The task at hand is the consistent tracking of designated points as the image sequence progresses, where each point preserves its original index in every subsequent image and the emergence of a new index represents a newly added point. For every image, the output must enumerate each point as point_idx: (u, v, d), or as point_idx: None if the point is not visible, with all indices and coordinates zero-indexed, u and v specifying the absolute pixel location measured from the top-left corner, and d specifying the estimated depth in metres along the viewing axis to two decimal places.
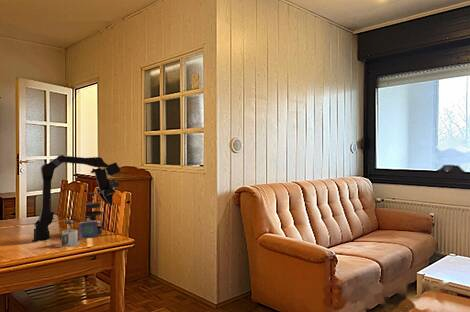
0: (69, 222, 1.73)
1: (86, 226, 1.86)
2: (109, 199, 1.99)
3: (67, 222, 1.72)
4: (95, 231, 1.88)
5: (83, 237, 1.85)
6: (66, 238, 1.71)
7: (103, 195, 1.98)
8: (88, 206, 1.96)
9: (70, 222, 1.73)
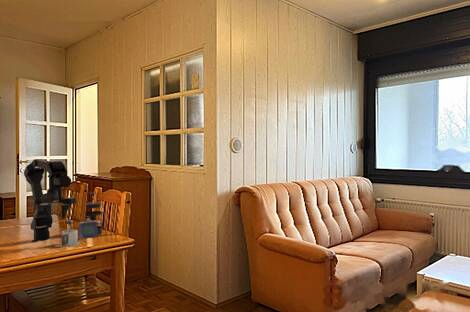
0: (69, 222, 1.73)
1: (86, 226, 1.86)
2: None
3: (67, 222, 1.72)
4: (95, 231, 1.88)
5: (83, 237, 1.85)
6: (66, 238, 1.71)
7: (50, 203, 1.78)
8: (88, 206, 1.96)
9: (70, 222, 1.73)
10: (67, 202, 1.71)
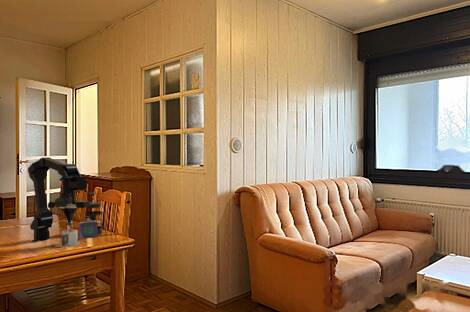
0: (69, 223, 1.73)
1: (86, 226, 1.86)
2: None
3: (67, 223, 1.72)
4: (95, 231, 1.88)
5: (83, 237, 1.85)
6: (66, 238, 1.71)
7: None
8: None
9: (70, 223, 1.73)
10: (80, 205, 1.70)
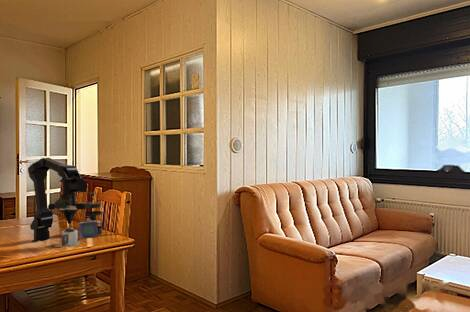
0: (69, 229, 1.73)
1: (86, 226, 1.86)
2: None
3: (67, 229, 1.72)
4: (95, 231, 1.88)
5: (83, 237, 1.85)
6: (66, 238, 1.71)
7: None
8: None
9: (70, 229, 1.73)
10: (81, 207, 1.70)
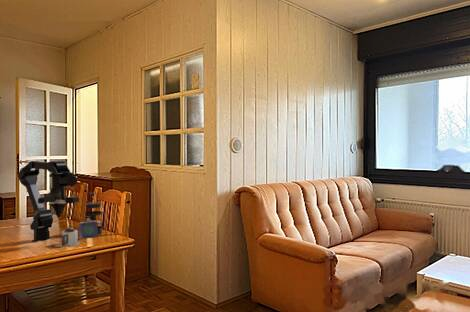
0: (69, 229, 1.73)
1: (86, 226, 1.86)
2: None
3: (67, 229, 1.72)
4: (95, 231, 1.88)
5: (83, 237, 1.85)
6: (66, 238, 1.71)
7: None
8: (88, 206, 1.96)
9: (70, 229, 1.73)
10: (69, 201, 1.75)
